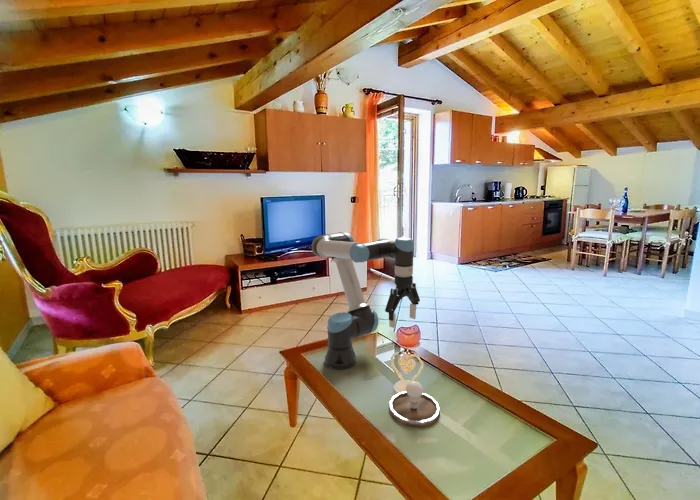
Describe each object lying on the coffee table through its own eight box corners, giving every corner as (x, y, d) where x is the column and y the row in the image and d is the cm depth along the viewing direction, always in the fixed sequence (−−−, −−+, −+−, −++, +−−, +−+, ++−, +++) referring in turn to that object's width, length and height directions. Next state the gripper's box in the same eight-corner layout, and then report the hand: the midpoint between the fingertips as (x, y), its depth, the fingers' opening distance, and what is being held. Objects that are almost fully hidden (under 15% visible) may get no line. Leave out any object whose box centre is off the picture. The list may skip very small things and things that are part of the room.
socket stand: (378, 409, 137) (378, 404, 136) (409, 388, 149) (410, 385, 149) (419, 434, 123) (419, 430, 123) (449, 410, 136) (449, 406, 135)
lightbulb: (422, 414, 132) (423, 388, 130) (405, 412, 134) (405, 386, 131) (422, 403, 138) (423, 378, 136) (405, 401, 140) (406, 376, 137)
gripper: (390, 282, 136) (390, 334, 141) (428, 270, 153) (427, 317, 157) (376, 278, 142) (376, 328, 146) (414, 267, 158) (413, 312, 163)
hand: (402, 322), depth 152 cm, fingers open, 13 cm apart
